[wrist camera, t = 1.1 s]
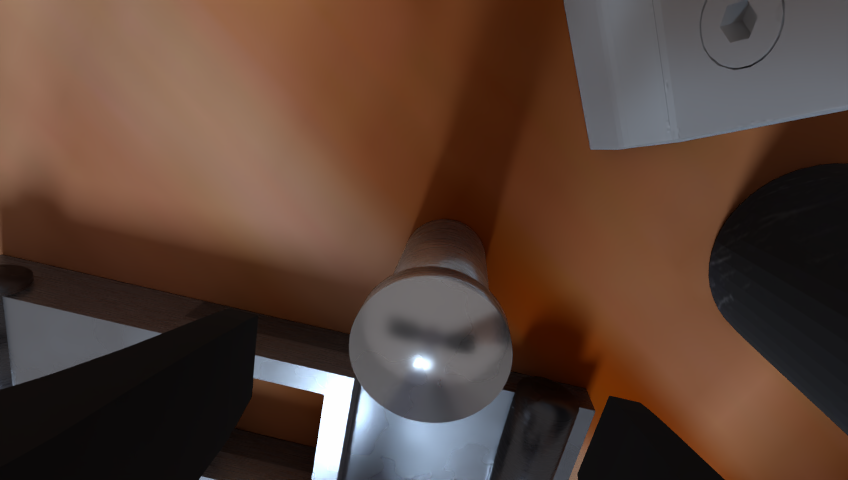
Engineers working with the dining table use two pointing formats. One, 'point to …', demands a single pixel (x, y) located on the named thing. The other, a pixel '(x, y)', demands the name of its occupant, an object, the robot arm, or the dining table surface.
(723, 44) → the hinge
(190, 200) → the dining table surface
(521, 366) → the dining table surface
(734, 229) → the travel mug
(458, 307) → the steel pin
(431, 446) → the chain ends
